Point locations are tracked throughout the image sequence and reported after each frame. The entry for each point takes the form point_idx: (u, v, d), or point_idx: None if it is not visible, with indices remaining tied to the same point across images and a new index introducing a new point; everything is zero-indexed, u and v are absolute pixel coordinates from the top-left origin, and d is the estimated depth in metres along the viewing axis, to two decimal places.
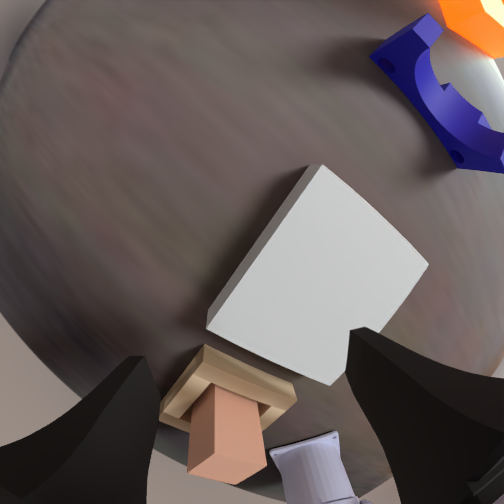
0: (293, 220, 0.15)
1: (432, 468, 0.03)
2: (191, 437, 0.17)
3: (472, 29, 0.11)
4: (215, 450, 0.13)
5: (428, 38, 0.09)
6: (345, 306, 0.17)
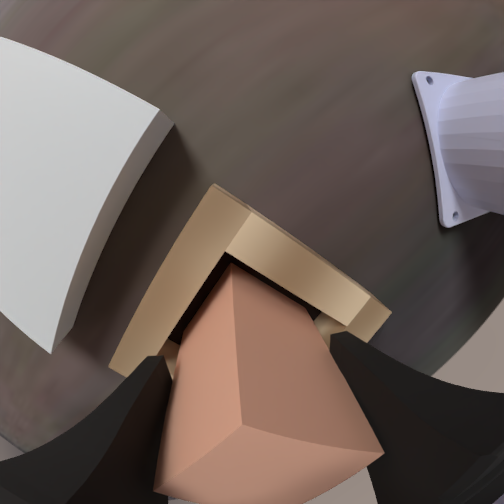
0: None
1: (407, 481, 0.03)
2: None
3: None
4: (154, 484, 0.04)
5: None
6: None
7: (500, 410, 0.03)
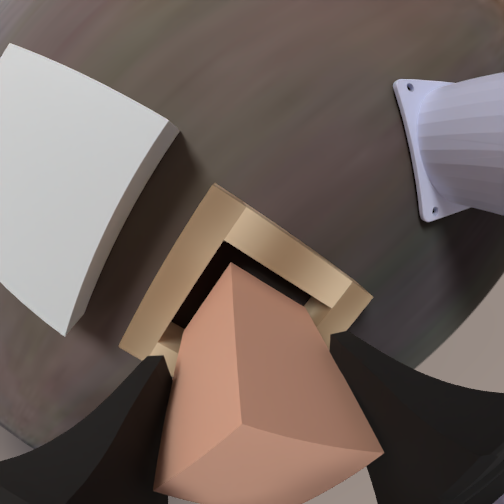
0: None
1: (407, 481, 0.03)
2: None
3: None
4: (154, 483, 0.04)
5: None
6: (21, 150, 0.08)
7: (500, 410, 0.03)
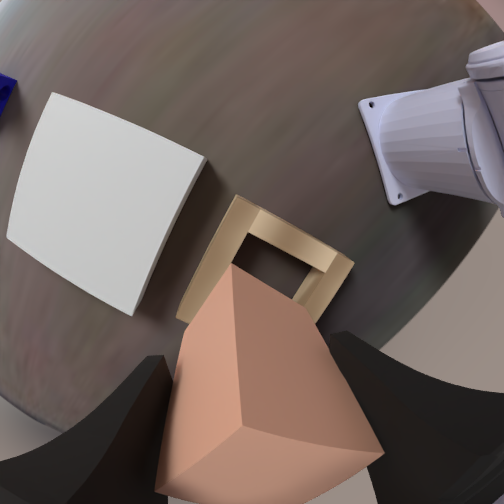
0: (36, 252, 0.15)
1: (407, 481, 0.03)
2: None
3: None
4: (155, 484, 0.04)
5: None
6: (87, 180, 0.14)
7: (500, 410, 0.03)
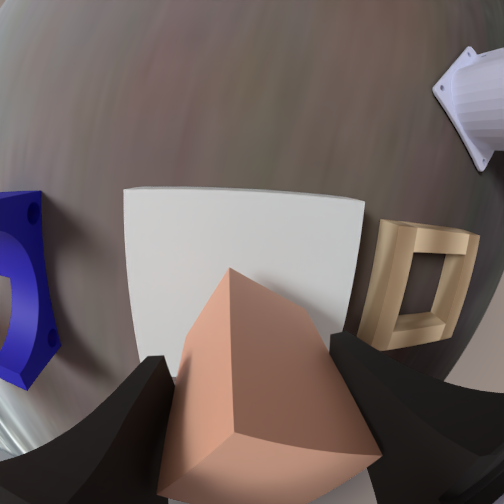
0: None
1: (407, 481, 0.03)
2: None
3: None
4: (158, 488, 0.05)
5: (15, 375, 0.11)
6: None
7: (500, 410, 0.03)
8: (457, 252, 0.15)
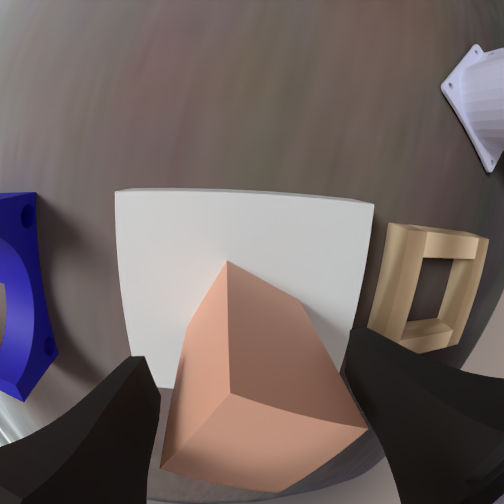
0: None
1: (432, 468, 0.03)
2: None
3: None
4: (161, 462, 0.05)
5: (11, 386, 0.10)
6: None
7: None
8: (466, 257, 0.14)
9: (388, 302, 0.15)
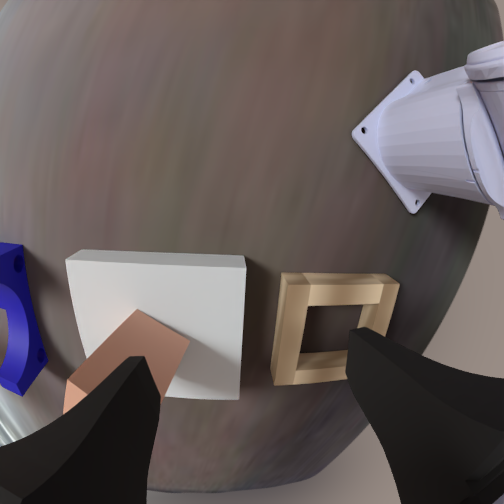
0: None
1: (432, 468, 0.03)
2: None
3: None
4: None
5: (13, 385, 0.14)
6: None
7: None
8: (367, 302, 0.18)
9: (279, 340, 0.19)
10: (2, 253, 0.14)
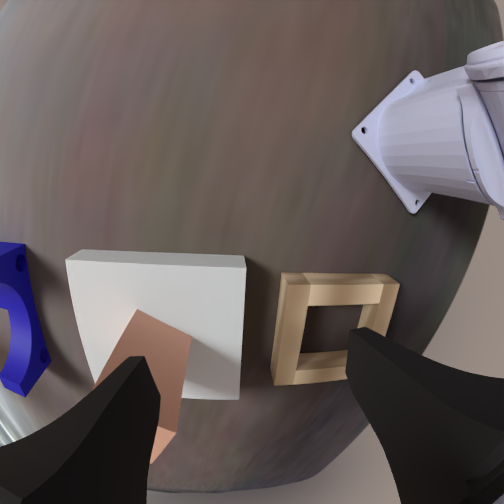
0: None
1: (432, 468, 0.03)
2: None
3: None
4: None
5: (16, 386, 0.14)
6: None
7: None
8: (367, 302, 0.18)
9: (279, 340, 0.19)
10: (4, 252, 0.14)
